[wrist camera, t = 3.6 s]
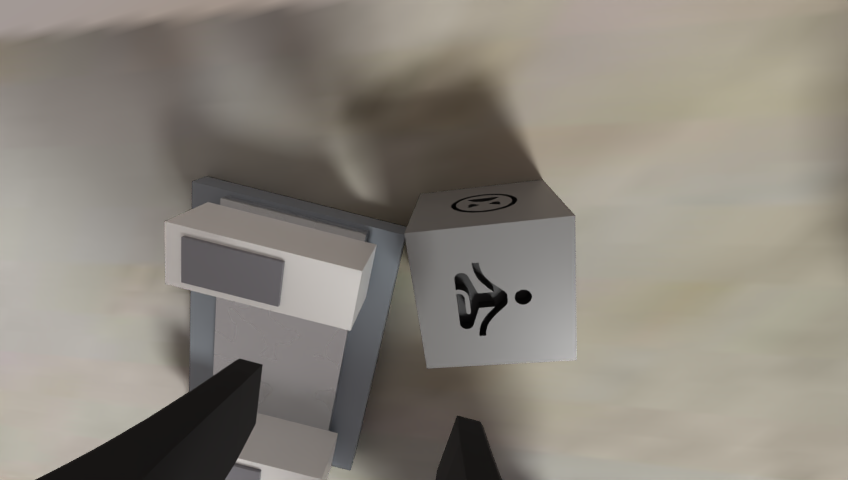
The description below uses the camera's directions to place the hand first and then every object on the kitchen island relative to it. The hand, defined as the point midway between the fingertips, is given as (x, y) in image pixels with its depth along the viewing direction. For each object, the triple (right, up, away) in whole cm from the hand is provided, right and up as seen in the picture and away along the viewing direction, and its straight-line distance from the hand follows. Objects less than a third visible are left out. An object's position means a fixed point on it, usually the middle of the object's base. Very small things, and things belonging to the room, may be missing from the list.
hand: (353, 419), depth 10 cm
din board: (-5, 0, +10) cm, 11 cm away
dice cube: (+5, +5, +7) cm, 10 cm away
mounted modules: (-5, -1, +8) cm, 10 cm away
